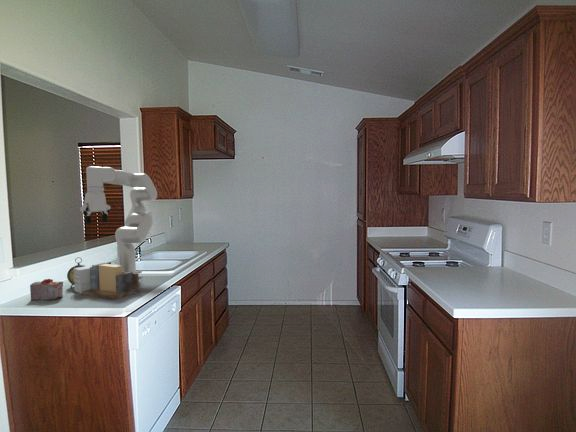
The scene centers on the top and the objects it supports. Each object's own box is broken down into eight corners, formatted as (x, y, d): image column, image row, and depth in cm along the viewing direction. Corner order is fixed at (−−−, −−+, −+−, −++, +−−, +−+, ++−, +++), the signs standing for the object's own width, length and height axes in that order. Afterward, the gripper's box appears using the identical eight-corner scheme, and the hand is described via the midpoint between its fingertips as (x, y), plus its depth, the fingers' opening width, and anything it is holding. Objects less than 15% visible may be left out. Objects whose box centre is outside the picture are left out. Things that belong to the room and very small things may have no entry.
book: (106, 287, 194) (105, 263, 193) (122, 290, 189) (121, 265, 188) (99, 289, 190) (98, 265, 189) (116, 292, 185) (115, 267, 184)
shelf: (109, 287, 201) (108, 261, 200) (138, 291, 192) (138, 264, 191) (82, 294, 187) (81, 266, 186) (113, 299, 178) (112, 270, 177)
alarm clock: (67, 288, 199) (66, 258, 198) (70, 285, 205) (68, 257, 204) (89, 286, 203) (88, 257, 201) (91, 284, 208) (90, 256, 207)
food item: (66, 296, 185) (65, 276, 184) (57, 300, 177) (56, 280, 176) (38, 296, 184) (37, 277, 183) (28, 301, 176) (26, 281, 175)
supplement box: (89, 288, 198) (88, 265, 198) (95, 290, 194) (94, 267, 193) (74, 291, 193) (73, 267, 192) (80, 294, 188) (79, 269, 187)
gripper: (104, 190, 200) (105, 221, 201) (74, 190, 184) (76, 223, 186) (114, 190, 197) (115, 221, 198) (85, 190, 181) (86, 224, 183)
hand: (96, 222), depth 192 cm, fingers open, 9 cm apart
